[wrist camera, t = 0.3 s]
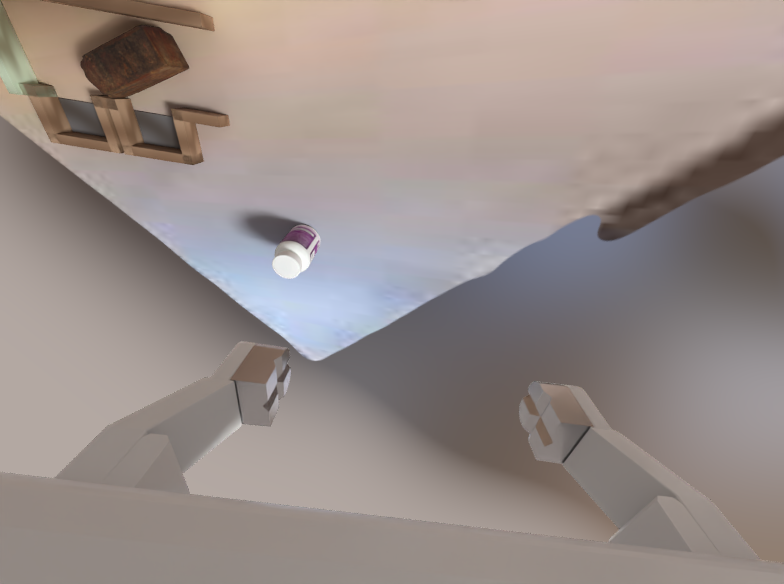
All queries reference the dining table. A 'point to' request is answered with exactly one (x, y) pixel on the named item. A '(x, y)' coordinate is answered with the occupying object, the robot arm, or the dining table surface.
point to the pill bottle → (296, 251)
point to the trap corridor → (109, 114)
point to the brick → (133, 61)
